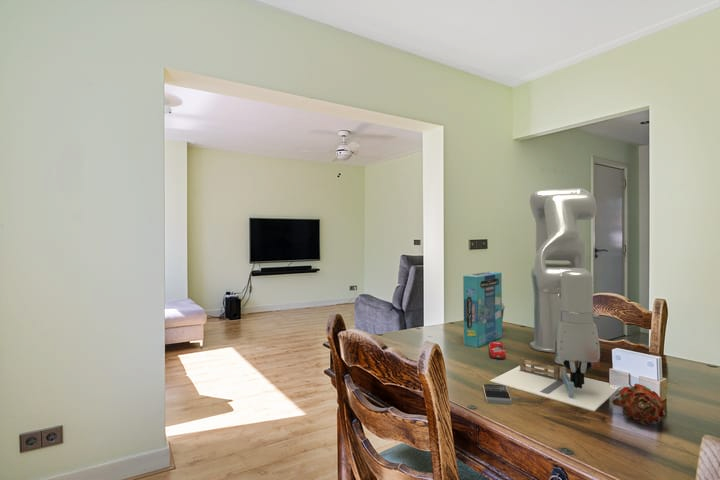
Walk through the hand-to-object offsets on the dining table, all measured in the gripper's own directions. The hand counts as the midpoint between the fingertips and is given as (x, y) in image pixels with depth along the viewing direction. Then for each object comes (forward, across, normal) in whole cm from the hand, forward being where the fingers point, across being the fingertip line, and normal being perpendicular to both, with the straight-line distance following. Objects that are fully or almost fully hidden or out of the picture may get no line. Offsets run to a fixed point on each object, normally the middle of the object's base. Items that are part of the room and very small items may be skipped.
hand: (577, 386), depth 103 cm
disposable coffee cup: (+2, +17, -67) cm, 70 cm away
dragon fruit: (+2, -9, +13) cm, 16 cm away
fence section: (+2, +7, -12) cm, 14 cm away
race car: (+3, +18, -31) cm, 36 cm away
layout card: (+2, +5, -5) cm, 7 cm away
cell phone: (+3, +21, +7) cm, 22 cm away
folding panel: (+1, +2, -2) cm, 3 cm away
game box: (+2, +22, -48) cm, 53 cm away
